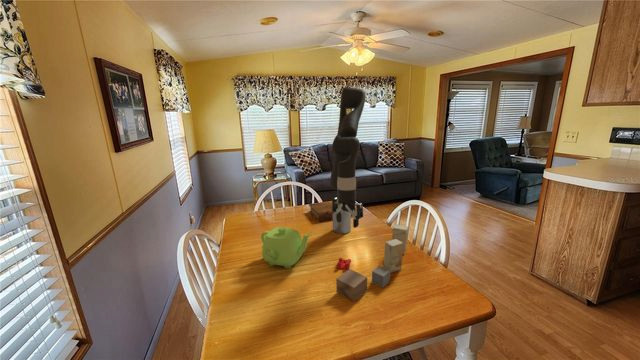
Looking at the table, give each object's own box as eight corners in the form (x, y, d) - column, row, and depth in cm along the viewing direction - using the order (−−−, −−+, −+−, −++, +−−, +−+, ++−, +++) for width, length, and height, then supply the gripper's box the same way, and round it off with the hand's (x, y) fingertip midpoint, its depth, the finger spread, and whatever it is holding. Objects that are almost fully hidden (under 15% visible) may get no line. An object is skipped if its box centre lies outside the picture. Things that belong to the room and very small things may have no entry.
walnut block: (336, 292, 100) (336, 278, 98) (349, 282, 105) (349, 268, 104) (354, 302, 94) (354, 287, 93) (367, 291, 100) (367, 277, 98)
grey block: (371, 282, 105) (372, 271, 103) (378, 276, 108) (379, 265, 107) (383, 288, 101) (383, 276, 100) (389, 281, 105) (390, 270, 103)
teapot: (245, 273, 113) (242, 238, 109) (271, 248, 132) (269, 218, 128) (300, 284, 104) (298, 248, 100) (319, 256, 124) (318, 224, 120)
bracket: (348, 270, 113) (348, 264, 112) (337, 269, 114) (337, 263, 113) (350, 262, 119) (350, 256, 118) (340, 261, 120) (340, 255, 119)
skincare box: (390, 273, 110) (391, 246, 106) (383, 268, 113) (384, 241, 110) (402, 269, 112) (403, 242, 109) (394, 263, 116) (396, 238, 113)
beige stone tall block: (391, 251, 126) (392, 227, 123) (393, 247, 130) (394, 223, 127) (404, 254, 123) (406, 230, 120) (406, 250, 127) (408, 226, 124)
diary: (318, 223, 161) (318, 214, 160) (309, 212, 178) (308, 204, 177) (353, 216, 169) (353, 208, 167) (341, 207, 186) (340, 199, 184)
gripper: (327, 186, 110) (328, 223, 114) (355, 192, 101) (355, 232, 105) (338, 182, 116) (339, 217, 120) (366, 187, 106) (366, 225, 110)
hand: (347, 224), depth 112 cm, fingers open, 8 cm apart
